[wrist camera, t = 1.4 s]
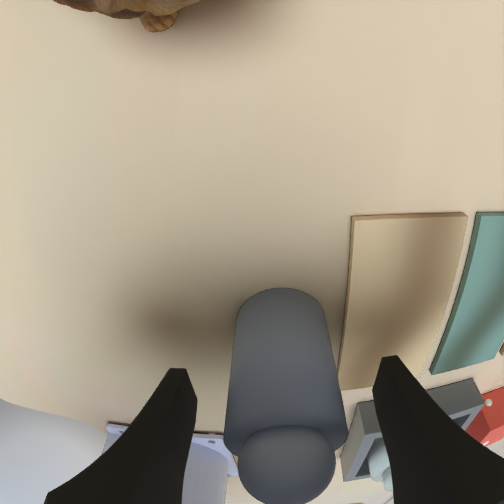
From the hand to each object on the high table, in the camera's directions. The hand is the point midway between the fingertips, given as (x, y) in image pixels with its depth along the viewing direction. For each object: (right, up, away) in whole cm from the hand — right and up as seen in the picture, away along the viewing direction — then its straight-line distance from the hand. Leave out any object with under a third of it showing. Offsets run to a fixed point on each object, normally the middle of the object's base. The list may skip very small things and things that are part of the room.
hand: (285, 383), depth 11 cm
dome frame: (+10, -8, +8) cm, 15 cm away
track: (+12, +2, +2) cm, 12 cm away
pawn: (0, +2, +3) cm, 4 cm away
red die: (+18, -8, +7) cm, 21 cm away
